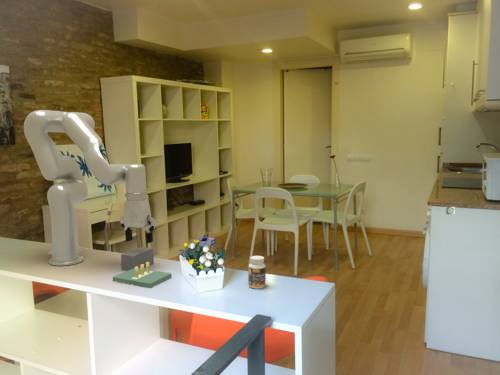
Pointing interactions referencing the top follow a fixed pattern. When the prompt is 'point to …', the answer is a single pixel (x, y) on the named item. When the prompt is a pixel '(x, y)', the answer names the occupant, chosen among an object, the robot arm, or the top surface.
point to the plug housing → (137, 258)
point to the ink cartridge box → (205, 239)
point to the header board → (142, 276)
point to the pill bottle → (256, 272)
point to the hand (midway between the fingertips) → (139, 241)
